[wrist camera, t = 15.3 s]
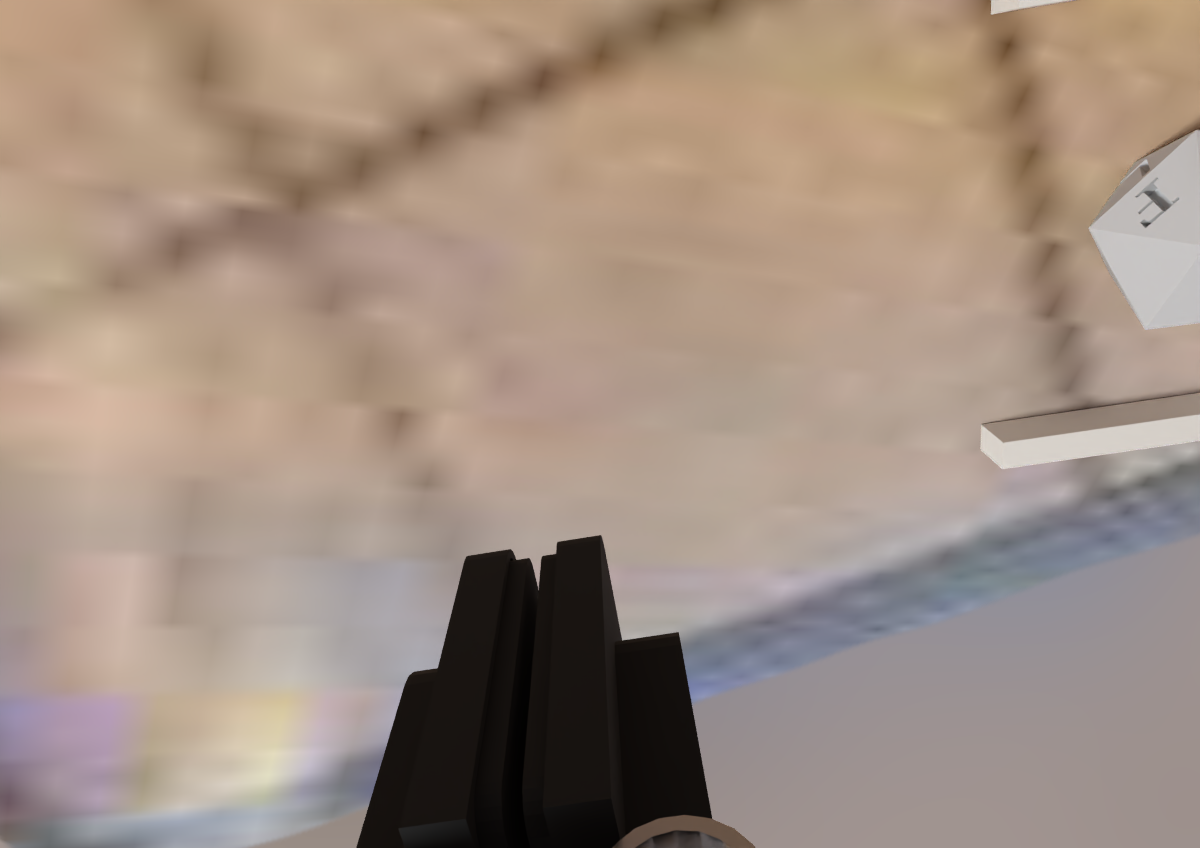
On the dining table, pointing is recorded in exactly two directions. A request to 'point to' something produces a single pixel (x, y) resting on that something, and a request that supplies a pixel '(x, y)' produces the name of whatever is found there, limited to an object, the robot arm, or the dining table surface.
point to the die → (1156, 235)
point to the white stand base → (1091, 426)
